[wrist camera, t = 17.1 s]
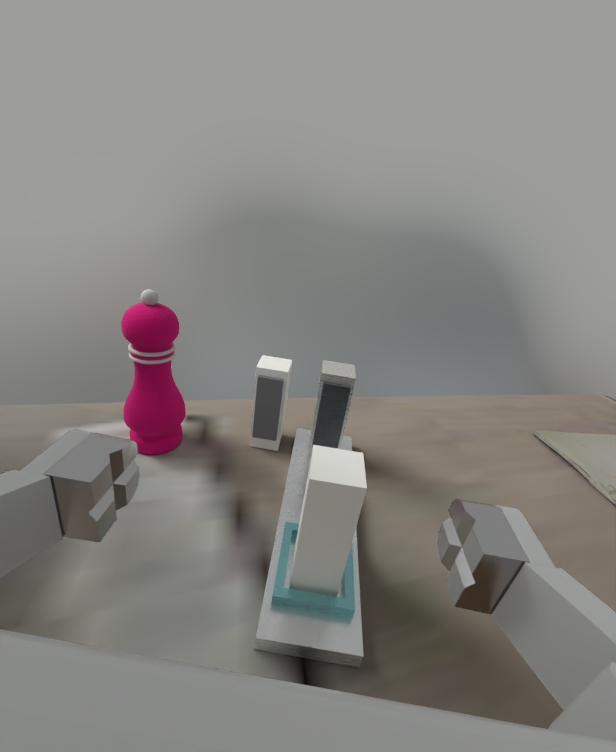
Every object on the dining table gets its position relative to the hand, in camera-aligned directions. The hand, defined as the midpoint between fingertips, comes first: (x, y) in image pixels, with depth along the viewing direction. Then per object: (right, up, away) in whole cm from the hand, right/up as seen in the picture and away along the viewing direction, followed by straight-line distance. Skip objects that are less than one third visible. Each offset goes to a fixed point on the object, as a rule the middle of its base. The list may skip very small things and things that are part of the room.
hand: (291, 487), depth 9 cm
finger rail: (+1, -12, +30) cm, 32 cm away
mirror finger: (-5, -6, +41) cm, 42 cm away
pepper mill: (-20, -6, +38) cm, 43 cm away
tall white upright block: (+1, -14, +22) cm, 26 cm away
